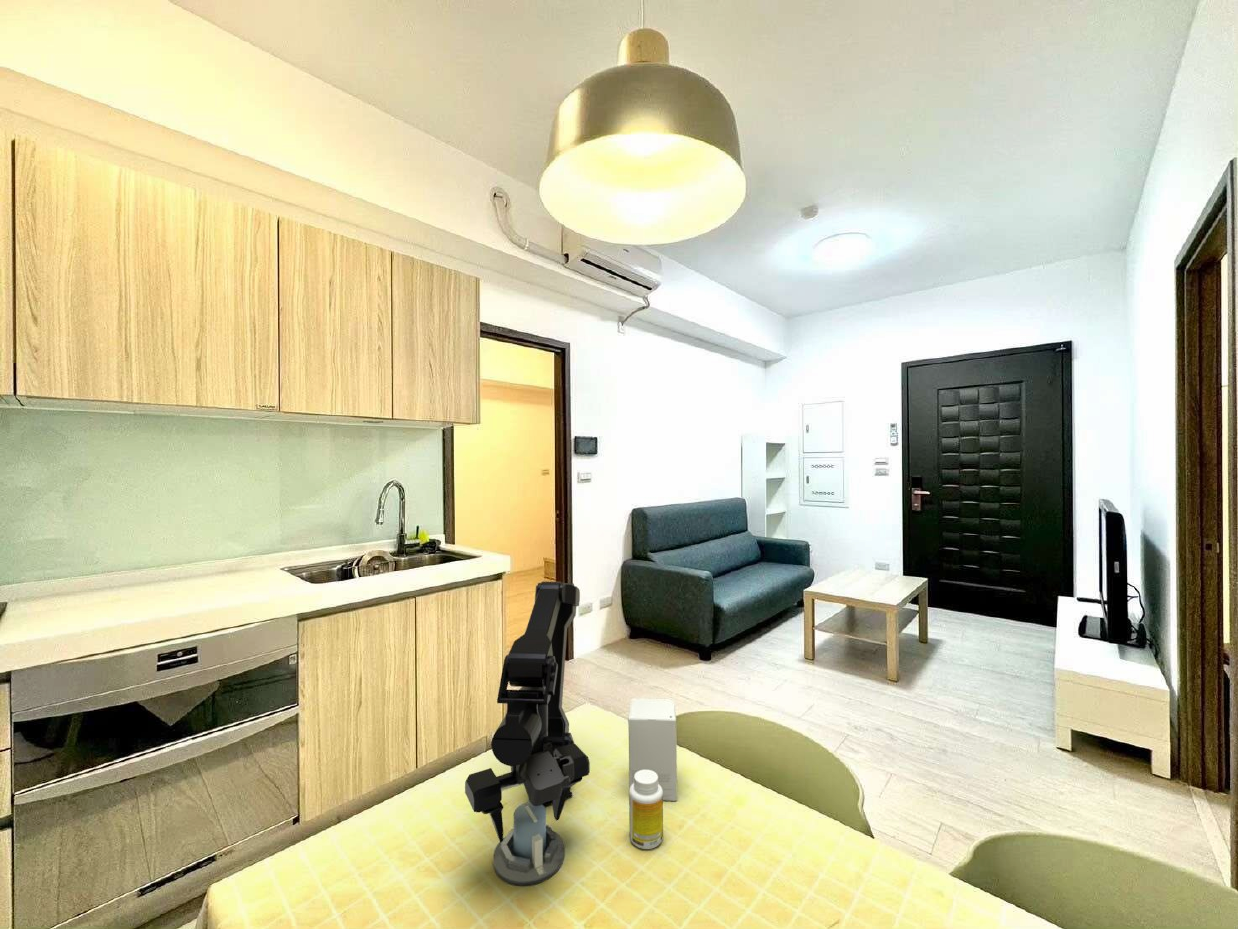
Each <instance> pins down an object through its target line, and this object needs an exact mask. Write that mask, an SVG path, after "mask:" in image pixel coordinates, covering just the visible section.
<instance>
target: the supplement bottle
mask: <svg viewBox="0 0 1238 929" xmlns="http://www.w3.org/2000/svg"><path fill="white" fill-rule="evenodd" d="M628 792H629V793H628V795H629V797H628V800H629V801H628V802H629V803H628V804H629V806H628V809H629V811H628V814H629V816H628V817H629V818H628V820H629V822H628V824H629V826H628V827H629V828H628V829H629V830H628V832H629V834H628V835H629V839H630V841H631V843H632V844H633V845H634V846H636V848H639V849H642V850H652V849H655V848H656V847H658V846H659V845H660V844H661V843H662V842H663V839H664V838H663V837H664V800H663V790H662V788H661V786H660V785H659V784H658V775H657V774H656V773H655V772H654V771H651V770H640V771H638V772H636V773H635V775H634V783H633V784H632V785H631V787H630V790H629V791H628Z"/></svg>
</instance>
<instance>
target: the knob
mask: <svg viewBox="0 0 1238 929" xmlns="http://www.w3.org/2000/svg"><path fill="white" fill-rule="evenodd" d="M546 825H547V809H546V806H545V807H544V806H543V805H540V806H533V805H532V804H531V803H530V801H529V802H525V803H523V804H519V806H518V807H516V809H515V810H514V811H513V829H514V856H516V857H521V858H526V859H530V863H532V864H533V866H534V868H535V869H536V868H538V867H540V866H543V856H544V854H545V852H546Z"/></svg>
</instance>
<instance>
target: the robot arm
mask: <svg viewBox="0 0 1238 929" xmlns="http://www.w3.org/2000/svg"><path fill="white" fill-rule="evenodd" d="M580 591H581V590H580V588H578V586H575V584H574V583H569V582H566V583H565V582H562V581H544V580H543V581H541V582H538V583H537V585H535V593H534V604H533V606H532V610H531V614H530V616H529V619H528V623H527V625H526V629H525V632H524V634H522V635H521V636H520V637H518V638H517V639H515V640H514V641H513V643H512V645H511V647H510V650H509V653H508V654H506V655H505V657H504V659H503V663H502V670H501V675H500V676H501V677H500V682H499V686H498V688H499V689H498V692H497V699H496V703H497V704H502V705H503V704H506V713H505V715H504V717H503V719H502V720H501V722H500V723H499V725H498V727H497V728H496V730H495V731H494V733H493V736H492V740H491V744H490V746H491V751H492V753H493V755H494V757H495V759H496V760H497V761H499V762H500V763H501V764H503V765H505V766H509V767H510V772H507V773H504V774H499V775H498V776H497V775H496V773H495V772H494V771H493V769H492V767H490V768H487V769H483V770H481V771H476V772H473V773H470V774H469V775H468V777H467V778H466V780H465V782H464V784H465V785H464V793H465V796H466V797H467V799H468V802H469V805H470V806H471V808H472V810H473V812H474V813H479V814H480V813H482V814H483V815H489V816H490V818H491V821H492V825H493V826H494V827H493V828H494V830H495V834H496V836H497V838H498V841H499V842H502V841H503V838H504V826H503V825H504V824H503V809H504V805H503V803H502V799H503V796H502V792H503V791H505V790H508V789H509V790H510V789H513V788H515V787H518V786H522V785H523V786H524V789H525V791H526V794H527V797H528V800H529V802H530V803H531V804H532V805H533V806H540V805H543V806H544V807H545V808H546V807H548V806H550V805H552V813H553V818H554V820H555V821H556V822H558V821H559V820H560V818H561V816H562V815H561V814H562V812H563V810H564V806H565V803H566V800H567V799H570V798H572V797H573V792H572V791H571V789H572V787H574V786H575V785H576V784H578V783H581V781H583V778H584V777H587V776H589V775H590V768H591V767H590V763H591V762H590V759H589V757H588V755H587V754H586V753H585V752H584V750H582V749H581V748H580V747H579V746H578V744H576V743H575V740H574V738H573V736H572V732H570V722H569V720H568V717H567V716H566V713H565V711H564V709H563V696H564V683H565V682H564V681H565V668H566V667H565V665H566V653H567V652H566V650H567V638H568V637H567V636H568V628H569V627H570V625H571V623H572V622H573V621H574V619H575V618H576V615H577V607H579V606H580V600H581V599H580V598H581V592H580ZM509 686H510V687H519V689H508V687H509Z"/></svg>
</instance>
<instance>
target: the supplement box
mask: <svg viewBox="0 0 1238 929" xmlns="http://www.w3.org/2000/svg"><path fill="white" fill-rule="evenodd" d="M627 718H628V719H627V721H628V722H627V723H628V726H627V727H628V776H629V777H628V778H629V779H628V786H629V788H628V789H629V790H630V787H631V785H632V784H633V783H634V775H635V773H636V772H638V771H640V770H651V771H654V772H655V773H656V774H657V775H658V784H659V785H660V786H661V788H662V790H663V801H665V802H666V801H668V802H672V801H673V802H676V801H678V784H677V783H678V770H677V769H678V767H677V765H678V764H677V761H678V760H677V759H678V754H677V753H678V751H677V746H678V745H677V744H678V743H677V712H676V705H675V699H669V698H666V699H665V698H664V699H663V698H659V699H658V698H635V697H634V698H631V700H630V707H629V714H628V717H627Z"/></svg>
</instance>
